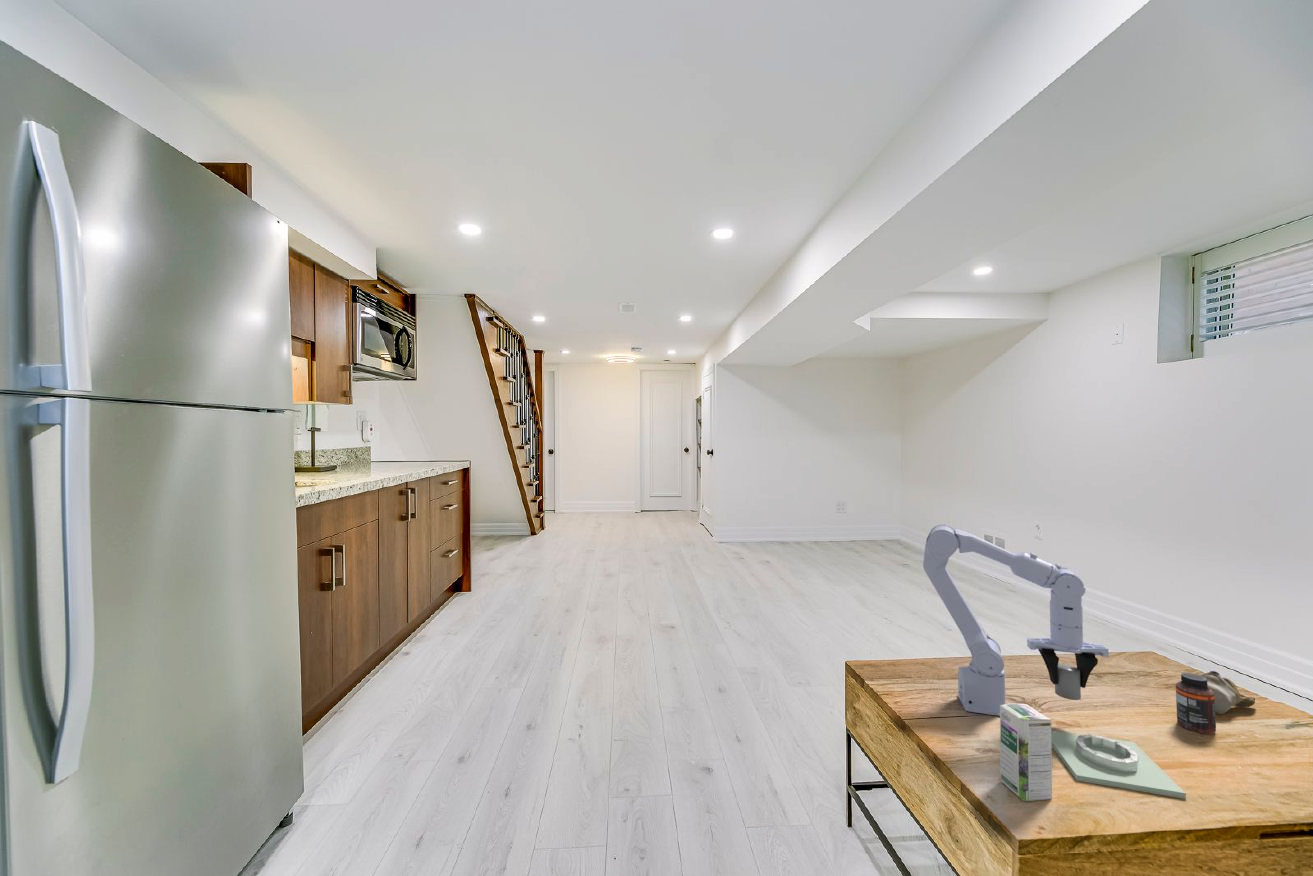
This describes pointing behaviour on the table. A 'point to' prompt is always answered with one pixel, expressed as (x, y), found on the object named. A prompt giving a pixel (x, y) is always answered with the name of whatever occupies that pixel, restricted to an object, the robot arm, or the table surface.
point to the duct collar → (1104, 761)
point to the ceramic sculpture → (1226, 693)
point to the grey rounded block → (1068, 682)
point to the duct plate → (1142, 780)
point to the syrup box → (1025, 752)
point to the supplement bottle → (1195, 704)
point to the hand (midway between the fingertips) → (1067, 684)
